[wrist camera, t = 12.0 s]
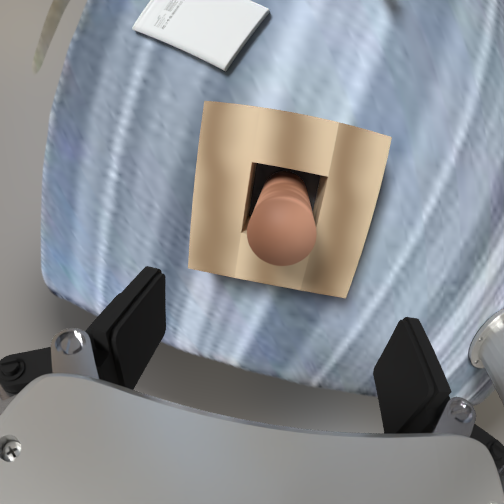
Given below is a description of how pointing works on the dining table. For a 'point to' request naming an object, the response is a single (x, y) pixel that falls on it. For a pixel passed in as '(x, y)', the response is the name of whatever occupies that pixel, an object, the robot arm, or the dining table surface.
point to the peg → (282, 221)
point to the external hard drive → (203, 26)
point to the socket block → (292, 157)
